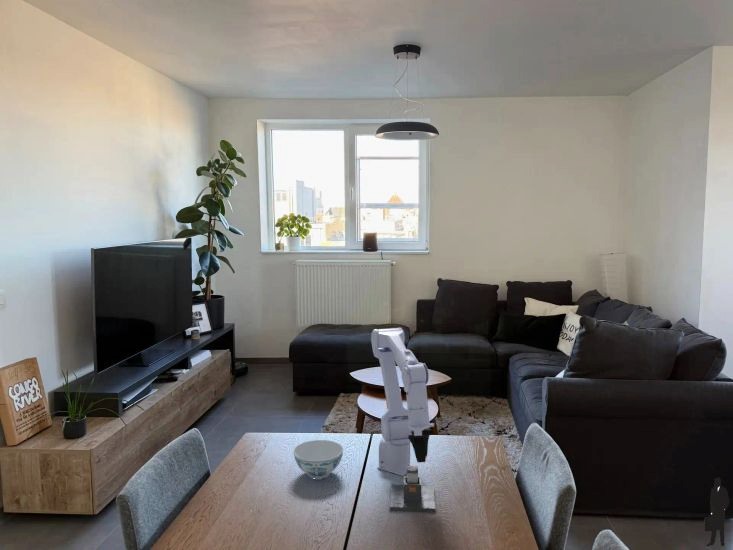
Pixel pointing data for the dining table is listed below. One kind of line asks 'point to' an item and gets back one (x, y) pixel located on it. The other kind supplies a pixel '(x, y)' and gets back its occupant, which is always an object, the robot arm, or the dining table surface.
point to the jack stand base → (412, 497)
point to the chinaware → (318, 457)
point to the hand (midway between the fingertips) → (422, 459)
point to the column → (412, 474)
